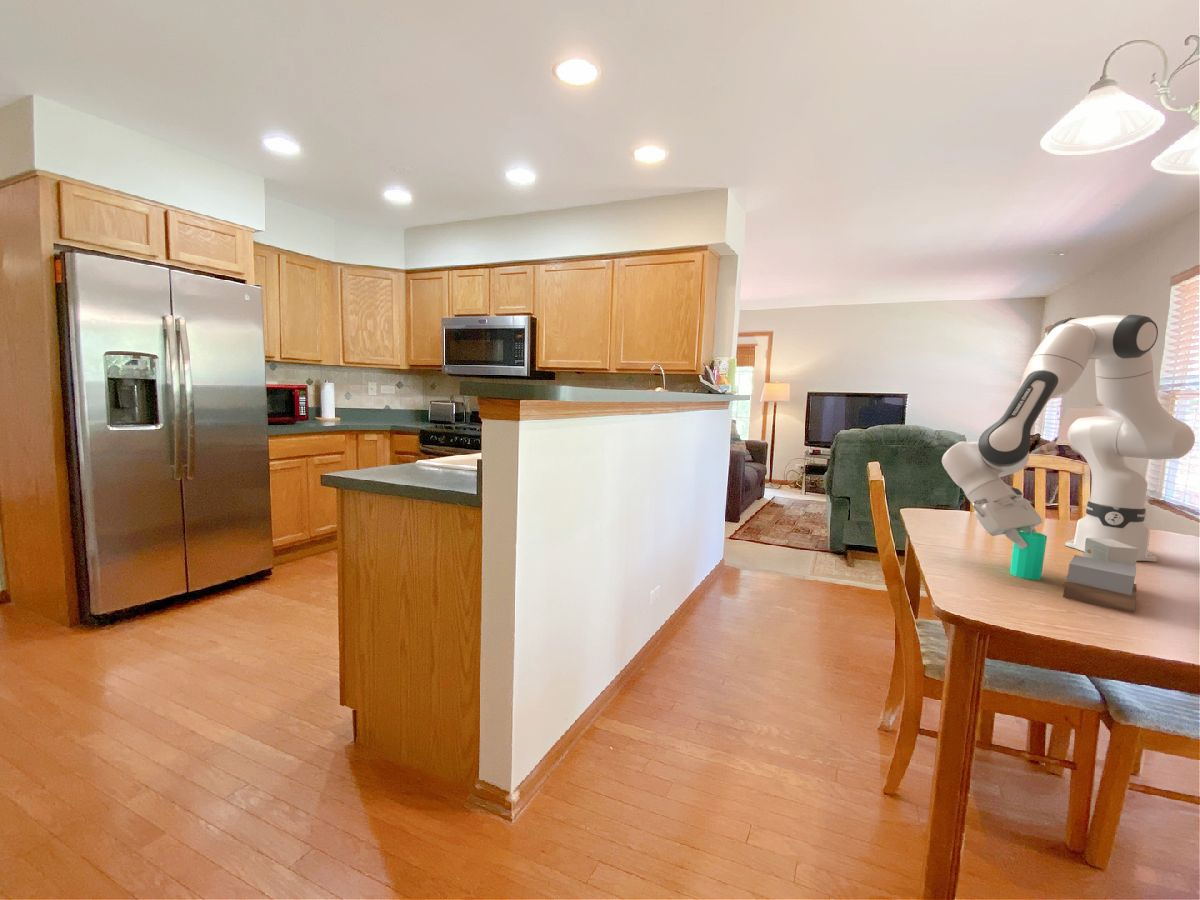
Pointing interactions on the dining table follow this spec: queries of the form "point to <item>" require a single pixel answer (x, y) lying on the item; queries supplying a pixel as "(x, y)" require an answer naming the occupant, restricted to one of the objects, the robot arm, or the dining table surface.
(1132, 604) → the tower base
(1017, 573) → the candle
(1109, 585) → the tower top
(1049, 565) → the dining table surface
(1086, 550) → the small box
